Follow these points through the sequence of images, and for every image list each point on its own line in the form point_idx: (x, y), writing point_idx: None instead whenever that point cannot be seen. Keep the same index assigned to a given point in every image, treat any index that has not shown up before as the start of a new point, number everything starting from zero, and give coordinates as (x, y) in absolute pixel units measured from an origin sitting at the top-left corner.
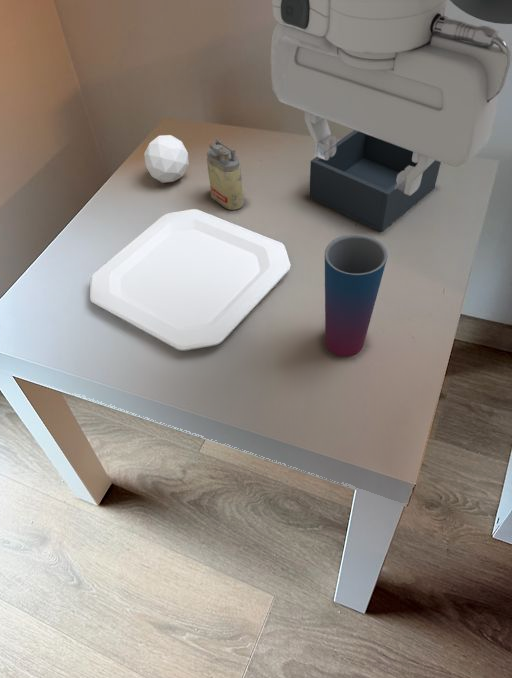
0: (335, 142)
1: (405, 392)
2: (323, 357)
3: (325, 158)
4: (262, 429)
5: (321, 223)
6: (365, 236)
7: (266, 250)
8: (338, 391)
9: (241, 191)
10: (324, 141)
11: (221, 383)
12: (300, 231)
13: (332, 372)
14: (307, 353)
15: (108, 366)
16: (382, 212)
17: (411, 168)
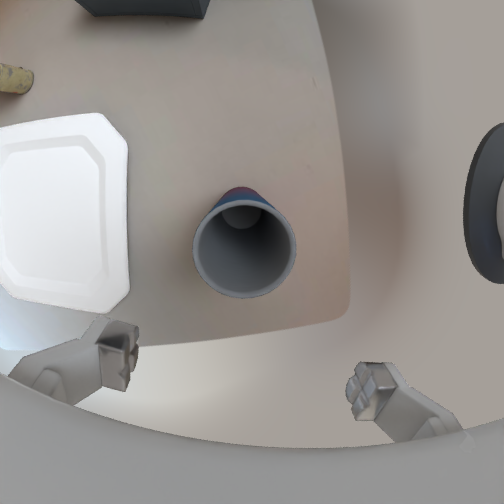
0: (127, 348)
1: (325, 241)
2: None
3: (135, 365)
4: (222, 337)
5: (125, 42)
6: (240, 203)
7: (88, 138)
8: None
9: (21, 74)
10: (109, 378)
11: (159, 314)
12: (107, 68)
13: None
14: None
15: (73, 337)
16: (196, 6)
17: (383, 392)
